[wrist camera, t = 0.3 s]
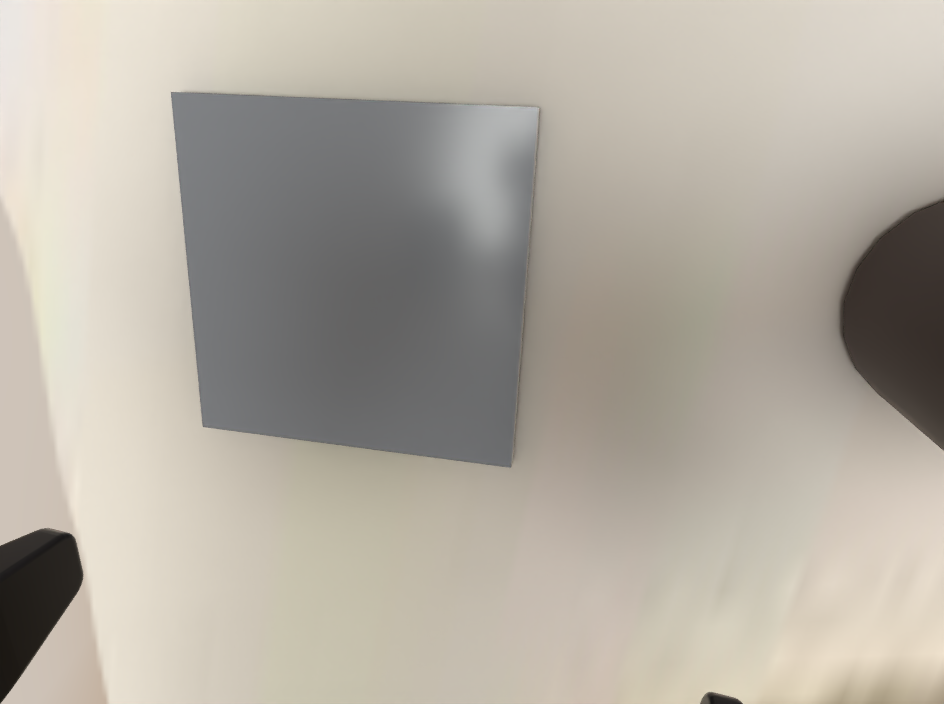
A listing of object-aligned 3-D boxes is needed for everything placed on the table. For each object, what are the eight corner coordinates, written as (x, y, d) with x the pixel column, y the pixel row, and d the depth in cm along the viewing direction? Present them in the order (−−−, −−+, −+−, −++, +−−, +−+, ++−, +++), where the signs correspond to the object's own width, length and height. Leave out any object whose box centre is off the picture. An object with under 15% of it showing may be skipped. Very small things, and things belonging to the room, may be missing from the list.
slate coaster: (513, 459, 23) (511, 467, 22) (211, 420, 25) (202, 426, 24) (540, 108, 19) (538, 107, 19) (182, 93, 21) (170, 91, 21)
